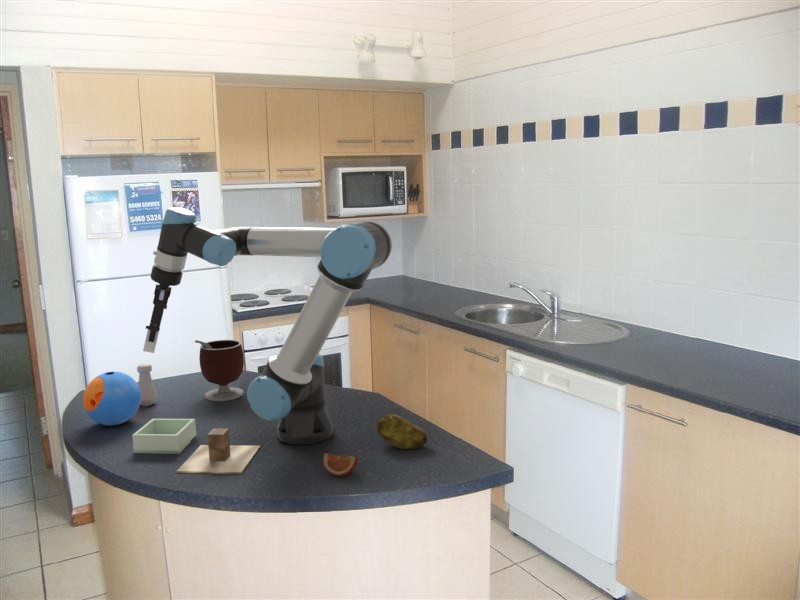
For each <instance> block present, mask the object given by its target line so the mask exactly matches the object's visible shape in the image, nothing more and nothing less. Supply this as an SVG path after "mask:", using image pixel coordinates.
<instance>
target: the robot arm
mask: <svg viewBox="0 0 800 600" xmlns="http://www.w3.org/2000/svg"><path fill="white" fill-rule="evenodd" d="M164 213H165V214H164V216H163V220H162V222H161V228H160V233H159V238H158V244H157V246H156V250H153V252H152V254H153V255H154V256H155V257H154V260H153V263H154V264H152V269H151V272H150V279H151V280H152V281H153V282H155V283H157V284H155V289H154V291H153V295H154V296H153V300H152V304H153V310H152V313H151V318H150V323H149V325H145V329H147V331H146V337H145V340H144V345H143V348H142V349H143V350H142V352H147V353H152V354H154V353H155V351H156V347H157V346H156V345H157V342H158V337H159V334H160V329H161V328H160V327H161V323H162V319H163V315H164V311H165V310H167V308H168V302H169V299H170V296H171V293H172V287H177V286H179V285H181V281H182V278H183V273H184V272H183V271H184V269H185V268H186V267H185V266H186V262H187V258H188V254H190V255H193V256H194V257H196V258H200V259H201V260H204V261H206V262H207V263H209V264H212V265H216V266H218V267H226V266H227V265H228V264H229V263H231V262H232V260H233V259H234V257H235V256H236V257H237V256H264V257H265V256H266V257H267V256H268V257H269V256H270V257H272V256H273V257H293V258H294V257H297V258H298V257H299V258H300V257H301V258H321V259H320V260H319V262H318V264H317V270H318V273H319V276H318V277H317V280H316V282H315V284H314V286H313V287H312V290H311V291H310V294H309V295H308V297H307V299H306V301H305V303H304V305H303V307H302V308H301V311H300V313H299V315H298V316H297V318H296V320H295V322H294V324H293V326H292V328H291V329H290V331H289V334H288V336H287V337H286V339H285V341H284V343H283V345H282V346H281V349H280V351H279V353H277V354H273V355H271V356H270V357H269V359H268V360H267V362H266V365H265V366H264V368H263V370H262V372H261V373H260V375H259V376H256V377H254V378H253V380H251V382H249V385H248V386H247V390H246V391H247V392H246V397H247V401H248V402H249V406H250V408H251V410H252V411H253V412H254V414H256V415H257V416H258V417H260V418H261V419H263V420H266V421H270V422H272V421H273V422H274V421H278V424H277V427H276V433H277V434H276V435H277V439H278V441H280V442H283V444H284V443H285V444H289V445H295V446H296V445H297V446H299V445H300V446H302V445H303V446H304V445H311V444H312V445H313V444H318V443H321V442H324V441H326V440H328V439H330V438H331V437H332V436H333V433H334V428H333V427H334V426H333V423H332V420H331V417H330V415H329V412H328V408H327V407H326V391H325V389H326V388H325V385H326V384H325V364H324V357H323V356H322V354H320V352H321V351H322V349H323V347H324V345H325V343H326V341H327V340H328V338H329V335H330V334H331V332H332V330H333V329H334V326H335V325H336V323H337V321H338V320H339V317H340V316H341V314H342V312H343V310H344V308H345V306H346V305H347V303H348V300H349V298H350V297H351V295H352V293H355V292H358V291H361V290H362V288H363V287H364V285H365V283H366V281H367V280H368V277H369V276H370V274H371V272H372V270H375V269H377V268H379V267H381V266H382V265H383V264H385V263H386V261H387V260H388V259H389V257H390V255H391V252H392V248H393V246H392V245H393V243H392V239H391V236H390V234H389V232H388V230H387V229H385V227H384V226H382V225H381V224H380V223H377V222H374V221H363V222H357V223H344V224H342V225H340V226H337V227H284V226H282V227H277V226H274V227H273V226H272V227H271V226H270V227H268V226H264V227H262V226H261V227H259V226H254V227H253V226H248V225H237V226H235V227H234V226H232V227H228V228H227V227H226V228H219V229H218V228H217V229H209V228H207V227H204V226H202V225H200V224H198V223H196V222H197V215H196V213H194V212H193V211H191V210H190V209H187V208H183V207H178V206H174V207H172V206H171V207H169V208H167V209H166V210H165V212H164ZM171 286H172V287H171Z"/></svg>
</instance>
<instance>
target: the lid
mask: <svg viewBox="0 0 800 600" xmlns="http://www.w3.org/2000/svg"><path fill="white" fill-rule="evenodd" d="M259 448H260V449H261V445H245V444H244V445H240V444H239V445H237V444H236V445H235V444H234V445H233V444H231V443H230V430H229V428H212V429H211V430H210V431H209V432H208V433H207V444H200V445H199V446H198V447H197V448H196V450H195V451H194V452H193V453H192V454H191V455H190V456H189V457H188V458H187V460H185V461H184V463H182V464H181V466H179V468H178V469H177V470H176V471H175V472H176V474H218V475H219V474H220V473H221V474H224V475H225V474H226V475H227V474H228V475H232V474H233V475H235V474H237V475H242V474H243V472H244V470H245V469H247V468H248V465H249V464H250V463H249V462H251V461H252V460H253V458H254V457H255V456H256V454H257V453H258V452H259V450H260V449H259ZM254 455H255V456H254ZM253 456H254V457H253ZM251 459H252V460H251Z"/></svg>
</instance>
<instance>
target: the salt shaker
mask: <svg viewBox="0 0 800 600" xmlns="http://www.w3.org/2000/svg"><path fill="white" fill-rule="evenodd" d="M136 370H137V373H139V374H138V383H137V384H138V386H139V388H140V392H141V402H140V405H141V406H142V407H150V406H149V405H151V406H152V404H153V405H154V404H155V402H156V400H157V398H158V395H157V391H156V388H155V385H154V384H155V383H154V382H153V379H152V375H151V372H152V370H153V368H152V365H151V364H150V363H141V364H139V365H137V367H136Z"/></svg>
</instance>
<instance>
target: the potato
mask: <svg viewBox="0 0 800 600" xmlns="http://www.w3.org/2000/svg"><path fill="white" fill-rule="evenodd" d="M375 425H376V426H375V427H376V429H377V433H378V434H379V436H380V437H382V439H383V440H384V441H385V442H387V443H390V444H391V445H392V446H394V447H395V448H398V449H403V450H412V449H418V448H421V447H423V446H424V445H425V444H427V442H428V436H427V433H426V431H425V430H424V429H423V428H421V427H420V426H418V425H416V424H415V423H412V422H411V421H409V420H407V419H406V418H403V417H402V416H400V415H398V414H384V415H383V416H381V417H380V418H379V419H377V421H376V424H375Z"/></svg>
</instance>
